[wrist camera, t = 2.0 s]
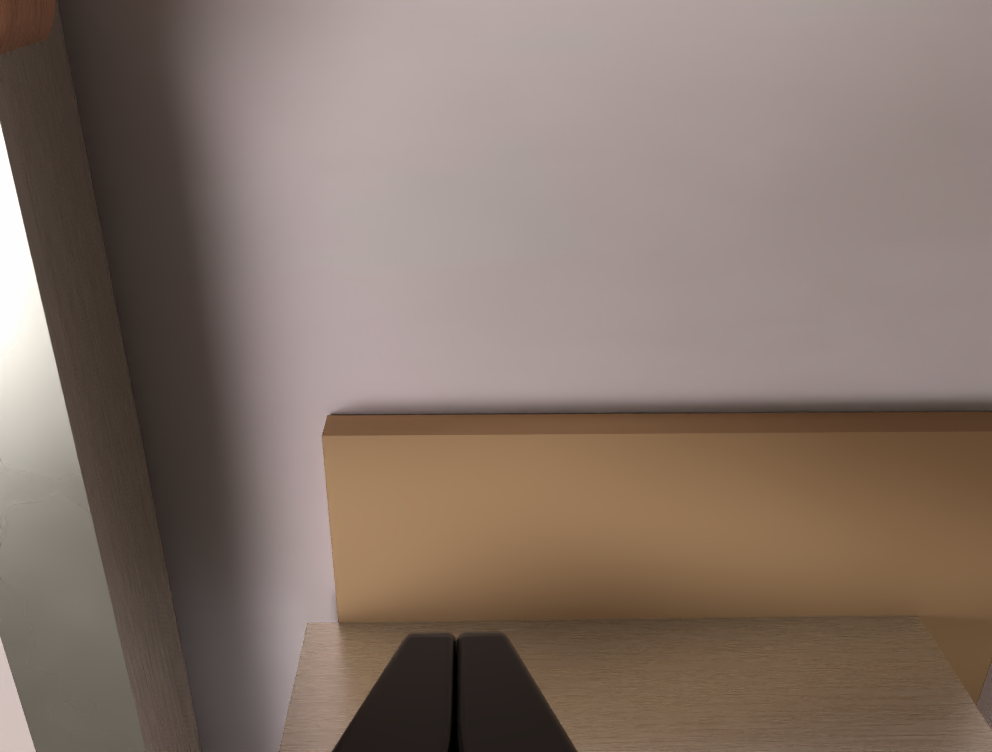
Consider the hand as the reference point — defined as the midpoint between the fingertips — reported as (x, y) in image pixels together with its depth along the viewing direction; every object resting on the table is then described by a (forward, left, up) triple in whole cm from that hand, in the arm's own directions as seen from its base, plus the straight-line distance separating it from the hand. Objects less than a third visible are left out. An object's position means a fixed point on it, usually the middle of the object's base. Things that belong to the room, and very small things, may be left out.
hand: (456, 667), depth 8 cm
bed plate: (-7, -4, -6) cm, 10 cm away
